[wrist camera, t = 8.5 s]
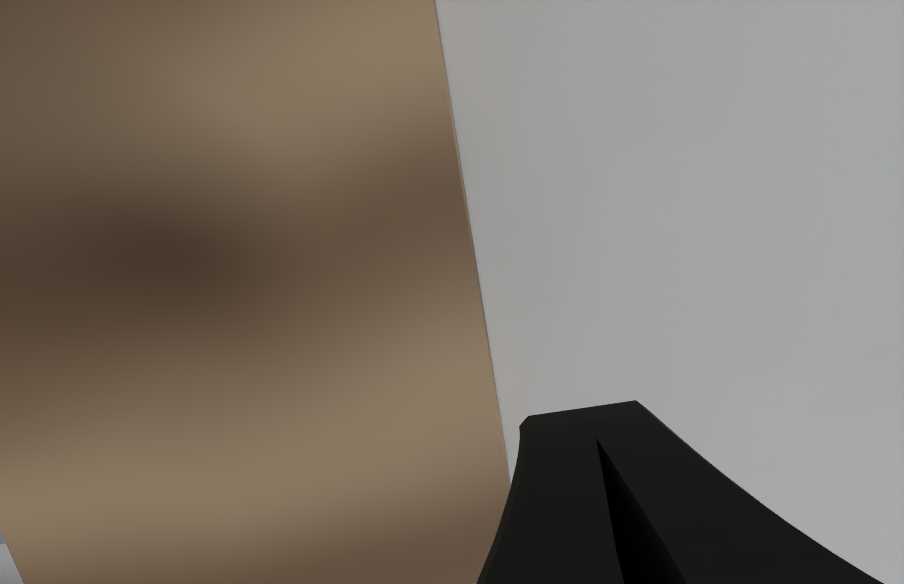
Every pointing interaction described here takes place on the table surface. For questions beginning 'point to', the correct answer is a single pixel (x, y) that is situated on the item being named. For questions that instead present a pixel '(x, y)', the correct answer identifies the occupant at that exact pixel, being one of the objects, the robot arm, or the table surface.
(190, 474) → the walnut deck
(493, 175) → the table surface
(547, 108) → the table surface
